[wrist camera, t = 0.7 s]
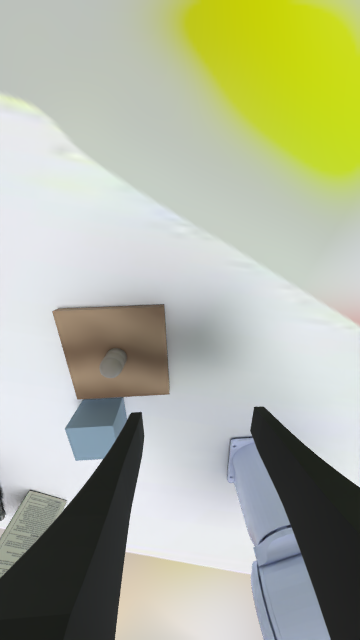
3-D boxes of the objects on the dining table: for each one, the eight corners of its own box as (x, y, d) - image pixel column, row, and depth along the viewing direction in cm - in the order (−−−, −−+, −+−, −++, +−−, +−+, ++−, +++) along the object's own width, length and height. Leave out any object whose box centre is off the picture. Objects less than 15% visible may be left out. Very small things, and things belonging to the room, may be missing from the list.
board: (169, 388, 22) (168, 414, 18) (81, 393, 22) (63, 420, 18) (164, 304, 18) (162, 315, 15) (58, 308, 18) (29, 321, 14)
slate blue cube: (127, 426, 24) (119, 457, 20) (91, 428, 24) (75, 460, 20) (123, 397, 22) (112, 425, 18) (83, 399, 22) (64, 428, 18)
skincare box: (21, 503, 28) (-83, 669, 17) (30, 488, 27) (-73, 655, 16) (58, 513, 30) (-13, 674, 18) (69, 500, 28) (0, 661, 17)
